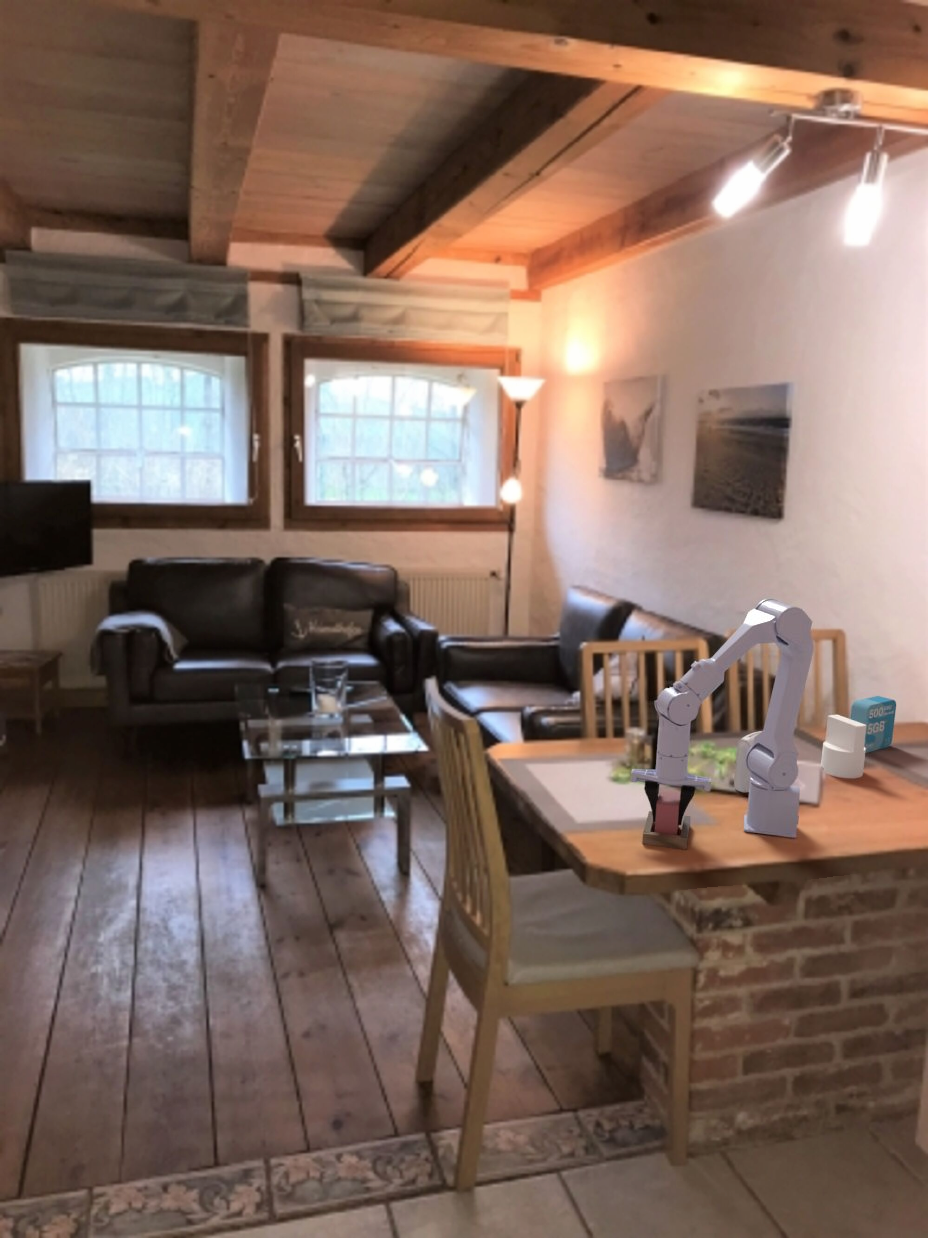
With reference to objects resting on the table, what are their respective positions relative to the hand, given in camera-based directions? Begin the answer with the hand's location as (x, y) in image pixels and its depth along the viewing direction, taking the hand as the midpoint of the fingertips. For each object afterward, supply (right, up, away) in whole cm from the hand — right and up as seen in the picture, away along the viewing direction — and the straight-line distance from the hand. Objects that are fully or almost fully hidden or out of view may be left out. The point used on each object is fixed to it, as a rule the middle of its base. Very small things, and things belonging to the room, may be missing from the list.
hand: (667, 821), depth 189 cm
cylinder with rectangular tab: (+47, +3, +39) cm, 61 cm away
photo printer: (+24, +2, +27) cm, 36 cm away
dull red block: (0, -2, +1) cm, 3 cm away
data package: (+61, +6, +56) cm, 83 cm away
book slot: (0, -2, 0) cm, 2 cm away
